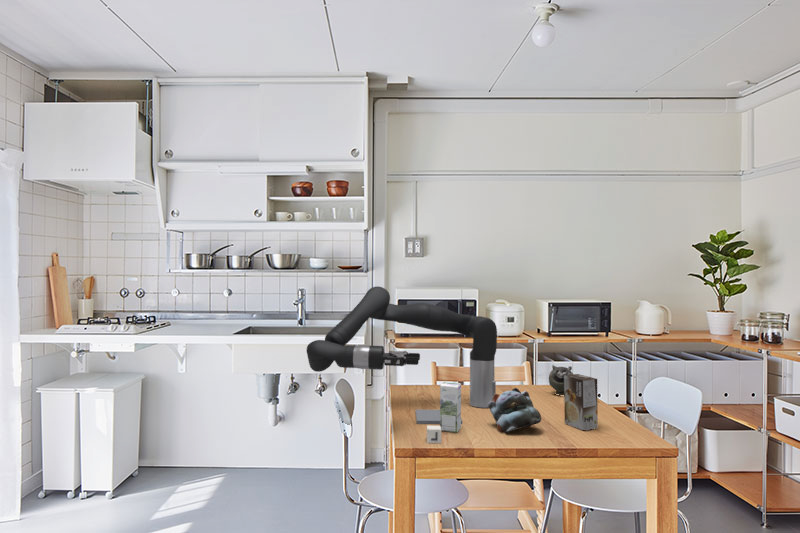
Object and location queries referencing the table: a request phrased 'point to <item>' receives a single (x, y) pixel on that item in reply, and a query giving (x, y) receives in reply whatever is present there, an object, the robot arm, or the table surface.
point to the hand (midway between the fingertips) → (419, 358)
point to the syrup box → (450, 407)
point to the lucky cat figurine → (513, 410)
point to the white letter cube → (433, 434)
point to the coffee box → (580, 401)
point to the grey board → (428, 416)
